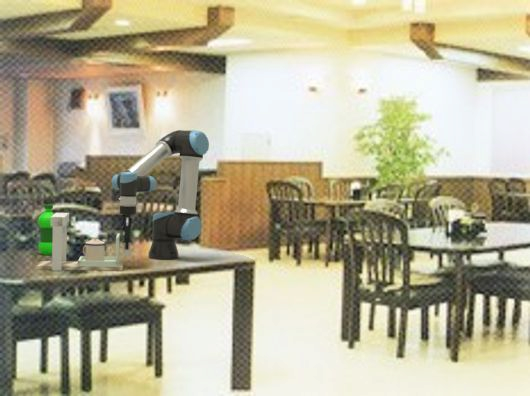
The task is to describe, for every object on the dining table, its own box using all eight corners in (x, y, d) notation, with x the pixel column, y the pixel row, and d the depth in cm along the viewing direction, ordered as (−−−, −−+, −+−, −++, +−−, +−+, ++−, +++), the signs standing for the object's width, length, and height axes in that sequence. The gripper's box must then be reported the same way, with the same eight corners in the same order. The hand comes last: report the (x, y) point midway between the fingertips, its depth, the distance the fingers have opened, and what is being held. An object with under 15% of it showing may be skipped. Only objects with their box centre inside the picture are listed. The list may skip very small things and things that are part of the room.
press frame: (68, 263, 446) (69, 212, 444) (63, 270, 422) (64, 217, 420) (55, 263, 445) (56, 212, 443) (49, 270, 421) (50, 217, 419)
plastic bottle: (61, 255, 475) (62, 205, 473) (41, 255, 469) (42, 205, 467) (54, 252, 483) (54, 203, 481) (34, 253, 477) (34, 204, 475)
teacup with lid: (109, 262, 435) (109, 237, 435) (95, 264, 428) (95, 238, 427) (90, 259, 442) (90, 234, 441) (76, 261, 435) (76, 236, 434)
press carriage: (119, 261, 445) (120, 233, 444) (117, 267, 428) (118, 237, 427) (80, 261, 443) (81, 232, 442) (77, 266, 426) (78, 236, 425)
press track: (123, 265, 445) (123, 262, 445) (122, 270, 428) (122, 267, 428) (41, 264, 441) (41, 260, 441) (37, 269, 424) (37, 266, 424)
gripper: (120, 204, 441) (118, 254, 442) (119, 206, 428) (118, 258, 430) (136, 204, 442) (135, 254, 443) (135, 206, 429) (134, 258, 430)
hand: (126, 256), depth 436 cm, fingers closed
